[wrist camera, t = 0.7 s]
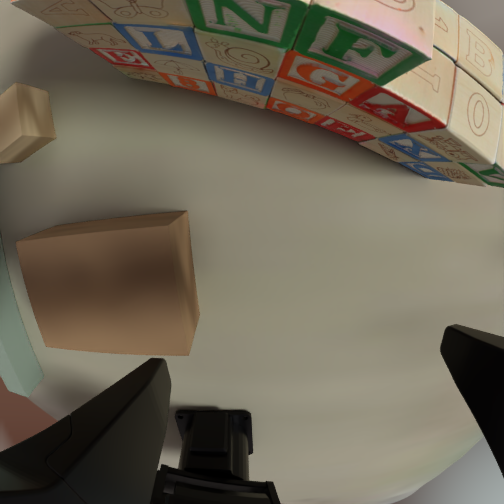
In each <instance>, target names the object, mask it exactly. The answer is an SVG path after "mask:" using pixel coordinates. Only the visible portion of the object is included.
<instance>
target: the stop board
mask: <svg viewBox="0 0 504 504" xmlns="http://www.w3.org/2000/svg"><path fill="white" fill-rule="evenodd" d="M0 375H1V377H2V379H3V381H4V383H5V385H6V387H7V388H8V390H9V391H11V392H14V393H16V394H19V395H23V396H25V397H29V395H30V394H31V393H32V391H33V390H34V389H35V388H36V386H37V385H38V384H39V382H40V381H41V380H42V379H43V377H44V375H43V373H42V370H41V368H40V366H39V364H38V361H37V359H36V357H35V354H34V352H33V349H32V347H31V344H30V342H29V339H28V336H27V334H26V331H25V328H24V325H23V322H22V319H21V316H20V313H19V310H18V307H17V304H16V300H15V297H14V293H13V289H12V286H11V282H10V278H9V274H8V270H7V265H6V260H5V256H4V251H3V245H2V240H1V233H0Z"/></svg>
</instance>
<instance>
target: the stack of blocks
mask: <svg viewBox="0 0 504 504" xmlns="http://www.w3.org/2000/svg"><path fill="white" fill-rule="evenodd" d="M11 4H12V5H14V6H16V7H18V8H20V9H22V10H24V11H26V12H27V13H29V14H31V15H33V16H35V17H37V18H39V19H41V20H42V21H44V22H46V23H48V24H50V25H52V26H53V27H54V28H55V29H56V30H58V31H59V32H61V33H63V34H64V35H65V36H67V37H69V38H70V39H72V40H74V41H75V42H77V43H78V44H80V45H81V46H83V47H85V48H89V49H90V50H92V51H93V52H94V53H96V54H97V55H99V56H101V57H102V58H104V59H105V60H107V61H108V62H110V63H111V64H113V67H114V68H116V69H117V70H119V71H120V72H122V73H124V74H125V75H127V76H128V77H130V78H134V79H141V80H147V81H153V82H159V83H165V84H170V85H171V86H174V87H179V88H184V89H188V90H193V91H198V92H202V93H206V94H210V95H214V96H219V97H222V98H226V99H229V100H233V101H236V102H240V103H243V104H247V105H250V106H254V107H257V108H261V109H271V110H273V111H275V112H279V113H282V114H286V115H288V116H291V117H294V118H297V119H299V120H302V121H305V122H308V123H310V124H316V125H318V126H321V127H323V128H326V129H328V130H330V131H333V132H335V133H338V134H341V135H343V136H345V137H348V138H350V139H352V140H355V141H357V142H358V144H360V145H362V146H364V147H366V148H368V149H370V150H372V151H374V152H377V153H379V154H381V155H383V156H385V157H387V158H389V159H391V160H393V161H395V162H399V163H400V164H402V165H404V166H406V167H408V168H409V169H411V170H413V171H415V172H417V173H419V174H421V175H423V176H424V177H426V178H429V179H434V180H443V181H450V182H454V181H455V182H456V183H463V184H469V185H477V186H483V187H487V185H491V186H497V187H503V188H504V55H503V53H502V51H501V50H500V48H498V47H497V46H496V45H495V44H494V43H493V42H492V41H491V40H490V39H489V38H488V37H486V36H485V35H484V34H483V33H482V32H481V31H480V30H478V29H477V28H476V27H475V26H474V25H472V24H471V23H470V22H469V21H467V20H466V19H465V18H464V17H462V16H460V15H458V14H457V13H456V12H455V11H454V10H453V9H452V8H451V7H449V6H448V5H446V4H445V3H443V2H442V1H440V0H11Z"/></svg>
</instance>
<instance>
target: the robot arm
mask: <svg viewBox="0 0 504 504" xmlns="http://www.w3.org/2000/svg"><path fill="white" fill-rule="evenodd" d="M440 352H441V355H442V357H443V359H444V361H445V363H446V365H447V367H448V369H449V371H450V373H451V375H452V377H453V380H454V382H455V384H456V386H457V387H458V389H459V391H460V393H461V394H462V396H463V398H464V400H465V401H466V403H467V405H468V407H469V408H470V410H471V412H472V414H473V416H474V418H475V419H476V421H477V423H478V425H479V427H480V429H481V431H482V433H483V435H484V437H485V438H486V440H487V442H488V444H489V446H490V449H491V451H492V453H493V455H494V457H495V459H496V461H497V463H498V466H499V468H500V470H501V472H502V475H503V477H504V337H502V336H498V335H494V334H491V333H487V332H483V331H480V330H476V329H472V328H469V327H465V326H461V325H458V324H454V325H451V326H448V327H446V329H445V331H444V335H443V339H442V343H441V347H440ZM170 393H171V379H170V375H169V371H168V367H167V363H166V361H165V360H164V359H163V358H151V359H149V360H148V361H146V362H145V363H143V364H142V365H140V366H139V367H138V368H136V369H135V370H133V371H132V372H130V373H129V374H128V375H126V376H125V377H123V378H122V379H120V380H119V381H118V382H116V383H115V384H113V385H112V386H110V387H109V388H107V389H106V390H104V391H103V392H102V393H100V394H99V395H97V396H96V397H94V398H93V399H91V400H90V401H88V402H87V403H85V404H84V405H82V406H81V407H79V408H78V409H76V410H75V411H73V412H72V413H71V414H70V415H67V416H66V417H64V418H63V419H61V420H60V421H58V422H56V423H55V424H53V425H52V426H50V427H48V428H47V429H45V430H43V431H41V432H39V433H38V434H36V435H34V436H32V437H30V438H28V439H26V440H24V441H22V442H20V443H18V444H16V445H14V446H12V447H10V448H8V449H6V450H4V451H1V452H0V504H280V501H279V498H278V495H277V492H276V489H275V486H274V483H273V482H271V481H266V482H258V481H249V460H248V455H250V454H252V453H253V440H252V420H251V413H250V412H248V411H224V412H220V411H183V410H178V411H176V413H175V419H176V422H177V425H178V428H179V431H180V434H181V437H182V440H183V443H182V449H181V455H180V460H179V466H178V469H176V468H172V467H168V465H164V464H161V468H160V470H158V471H157V468H158V464H159V459H160V455H161V451H162V446H163V442H164V438H165V433H166V428H167V420H168V411H169V402H170ZM180 415H181V416H180ZM244 416H247V417H244Z"/></svg>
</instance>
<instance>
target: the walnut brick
mask: <svg viewBox="0 0 504 504" xmlns="http://www.w3.org/2000/svg"><path fill="white" fill-rule="evenodd" d="M16 247H17V252H18V257H19V261H20V266H21V270H22V274H23V278H24V282H25V285H26V289H27V293H28V296H29V299H30V303H31V306H32V309H33V312H34V315H35V318H36V321H37V324H38V327H39V330H40V332H41V335H42V338H43V340H44V343H45V345H46V347H52V348H60V349H68V350H78V351H89V352H101V353H115V354H134V355H171V356H189V353H190V349H191V346H192V342H193V338H194V334H195V331H196V327H197V323H198V320H199V316H200V312H199V305H198V298H197V291H196V283H195V275H194V267H193V258H192V250H191V240H190V231H189V221H188V211H180V212H169V213H158V214H148V215H138V216H129V217H120V218H111V219H103V220H94V221H86V222H79V223H71V224H64V225H57V226H54V227H51V228H49V229H46V230H44V231H41V232H39V233H36V234H34V235H31V236H29V237H26V238H24V239H21V240H19V241H17V242H16Z"/></svg>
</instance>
